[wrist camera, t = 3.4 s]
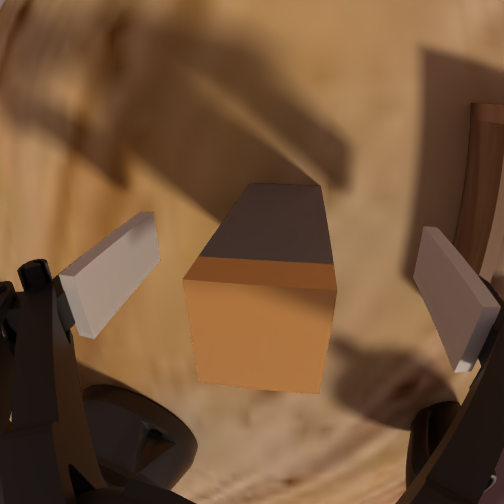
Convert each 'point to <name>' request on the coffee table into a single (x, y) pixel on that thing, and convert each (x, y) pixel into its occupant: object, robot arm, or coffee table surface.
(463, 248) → the box
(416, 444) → the mug
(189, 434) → the robot arm
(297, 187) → the connector
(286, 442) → the coffee table surface
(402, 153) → the coffee table surface
